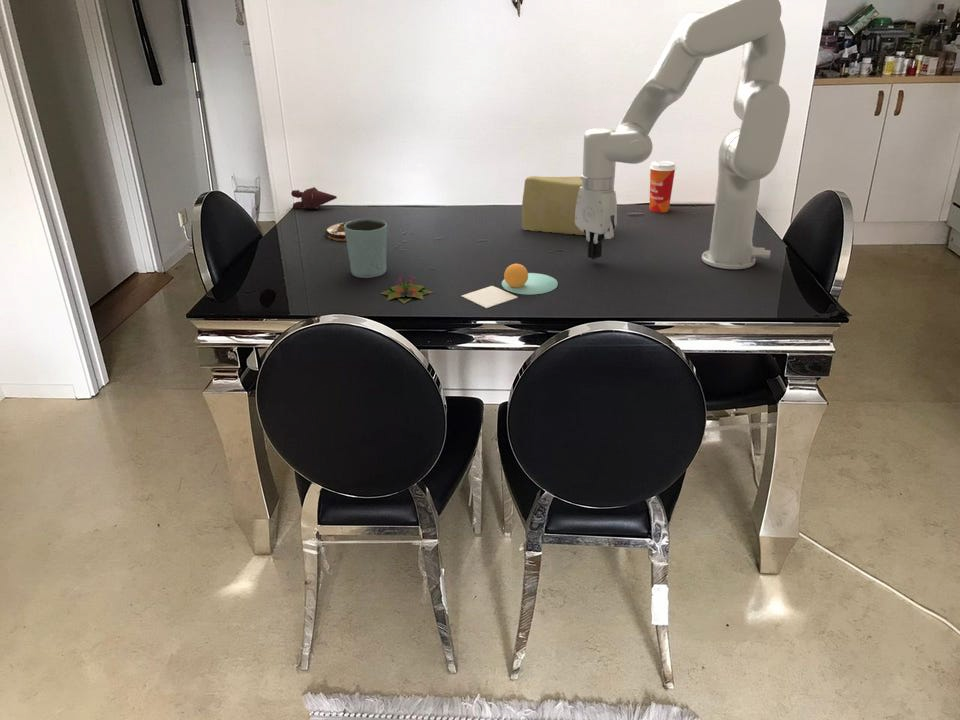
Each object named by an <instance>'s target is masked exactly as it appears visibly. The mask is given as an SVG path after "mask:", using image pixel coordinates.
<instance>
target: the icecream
mask: <svg viewBox="0 0 960 720" xmlns="http://www.w3.org/2000/svg"><path fill="white" fill-rule="evenodd" d="M290 194H291V196H292V197H293V198H296V199H300V200H301V201H296V202H293V204H292V209H294V210H296V209H298V210H300V209H301V208H302V209H303V207H305V208H307V209H309V210H318V209H319V208H320V207H321V206H323V205H324V204H326V203H329V202H331V201H333V200H336V199H337V198H338V197H337V196H336V195H334V194H331V193H327V192H324V191H321V190H319V189H317V188H316V187H315V186H313V187H310V188H307V189H305V190H304V191H300V190H299V189H297V190H296V189H295V190H292V191H291V193H290Z"/></svg>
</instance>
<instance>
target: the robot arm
mask: <svg viewBox="0 0 960 720" xmlns="http://www.w3.org/2000/svg"><path fill="white" fill-rule="evenodd" d="M781 17H782V5H781V2H780V0H729V3H728V4H727V5H725V6H722V7H720V8H717V9H715V10H714V9H713V10H711V11H709V12H699V11H698V12H697V11H696V12H692V13H689V14H687V15H685V16H684V17H683V18H682V19H681V20H680V22H679V23H678V25H677V26H676V28H675V30H674V32H673V33H672V35H671V37H670V39H669V41H668V43H667V44H666V47H664V50H663V51H662V53H661V56H660V57H659V59H658V61H657V63H656V65H655V66H654V67H653V70H652V72H650V73H651V74H650V75H648V76H649V77H648V78H647V80H646V81H645V82H644V83H643V85H642V86H641V88H640V90H639V91H638V93H637V94H636V95H635V97H634V98H633V99H632V101H631V102H630V104H629V106H628V108H627V109H626V112H625V113H624V115H623V117H622V118H621V120H620V122H619V123H618V126H617V128H616V130H614V129H613V128H608V127H594V128H593V127H592V128H590V129H588V130H586V131H585V133H584V136H583V151H582V153H583V156H582V174H581V175H580V177H581V180H582V186H581V187H580V189H579V192H578V196H577V202H576V210H575V225H576V226H577V227H578V228H579V229H580V230H581V231H583V232H584V233H585V235H586V236H585V240H586V242H588V244H587V258H589V259H592V260H594V259H597V258H600V257H602V254H603V253H602V252H603V251H602V250H603V248H602V247H603V242H605V240H607V239H608V240H610V239H613V238H614V237H615V235H614V231H615V230H616V229H617V223H618V204H617V203H618V202H617V193H616V190H615V177H616V166H617V165H616V163H624V164H629V165H631V164H633V165H634V164H635V165H638V164H641V163H643V162H645V161H647V160H648V159H649V158H650V156H651V154H652V152H653V142H652V141H653V140H652V139H651V137H650V135H649V134H650V132H651V130H652V129H653V127H654V126H655V124H656V122H657V120H658V119H659V117H660V116H661V115H662V113H663V112H664V111H665V110H666V109H667V108H668V107H670V106H671V105H673V104H674V103H675V102H677V101H678V100H680V99H681V98H682V96H683V95H684V94H685V92H686V91H687V89H688V87H689V86H690V83H691V82H692V80H693V78H694V76H695V75H696V73H697V71H698V70H699V68H700V66H701V65H702V63H703V61H704V59H707V58H711V57H715V56H717V55H720V54H723V53H726V52H728V51H731V50H733V49H735V48H737V47H738V48H739V47H741V46H743V47H742V49H743V52H742V53H743V54H742V61H741V67H740V71H739V77H738V82H737V86H736V90H735V94H734V99H733V111H734V114H735V116H736V117H737V118H738V119H739V120H741V125H740V127H738V128H735V129H733V130H731V131H730V132H728V133H727V134H726V135H725V136H724V137H723V139H722V141H721V143H720V146H719V149H718V150H719V151H718V159H717V160H718V165H717V167H718V168H717V169H718V174H717V186H716V193H715V194H716V196H715V201H714V210H713V218H712V225H711V234H710V241H709V248H708V250H705V251H704V252H702V254H701V260H702V261H703V263H704V264H706V265H709V266H710V267H714V268H717V269H718V268H719V269H725V270H743V269H744V270H745V269H748V268H751V267H753V266H754V265H755V264H756V258H762V259H770V257H771V251H772V250H769V249H766V248H765V247H755V246H754V245H753V234H754V230H755V229H754V227H755V222H756V215H757V208H758V202H759V198H760V197H759V195H760V187H761V180H763V179H764V178H766V177H767V176H768V175H770V173H772V171H773V170H774V169H775V167H776V165H777V163H778V160H779V158H780V153H781V149H782V146H783V143H784V138H785V134H786V130H787V125H788V122H789V117H790V113H791V112H790V110H791V103H790V98H789V95H788V93H787V91H786V90H785V89H784V87H782V86H780V82H781V81H780V80H781V76H782V71H783V65H784V60H785V53H786V33H785V29H784V27H783V24H782V21H781Z"/></svg>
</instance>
